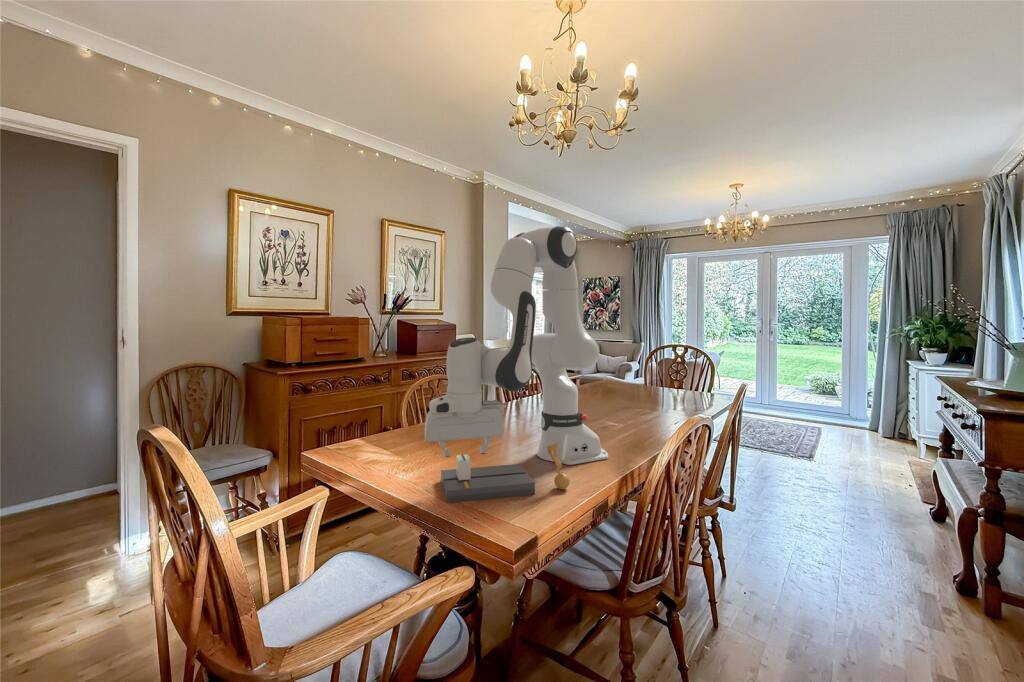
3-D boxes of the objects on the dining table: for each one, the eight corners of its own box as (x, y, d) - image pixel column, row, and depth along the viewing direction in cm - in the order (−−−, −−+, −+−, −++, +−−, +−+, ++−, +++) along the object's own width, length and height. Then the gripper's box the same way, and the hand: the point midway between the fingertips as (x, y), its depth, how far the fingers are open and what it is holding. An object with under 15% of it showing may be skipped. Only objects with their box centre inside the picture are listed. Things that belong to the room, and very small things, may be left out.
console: (519, 474, 125) (519, 463, 125) (534, 494, 112) (534, 481, 111) (440, 481, 119) (440, 469, 119) (447, 503, 106) (447, 489, 106)
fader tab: (467, 479, 116) (467, 454, 116) (470, 485, 112) (470, 459, 112) (456, 480, 116) (456, 454, 115) (458, 486, 111) (458, 460, 111)
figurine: (570, 495, 111) (571, 448, 110) (546, 494, 111) (547, 447, 111) (568, 482, 119) (569, 439, 118) (546, 482, 120) (546, 438, 119)
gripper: (501, 397, 118) (501, 447, 119) (423, 401, 113) (424, 454, 114) (507, 402, 112) (507, 455, 113) (425, 407, 107) (426, 463, 108)
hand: (465, 455), depth 114 cm, fingers open, 8 cm apart
